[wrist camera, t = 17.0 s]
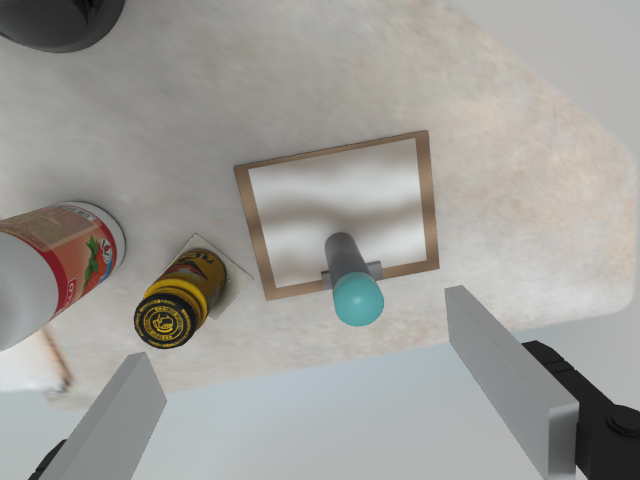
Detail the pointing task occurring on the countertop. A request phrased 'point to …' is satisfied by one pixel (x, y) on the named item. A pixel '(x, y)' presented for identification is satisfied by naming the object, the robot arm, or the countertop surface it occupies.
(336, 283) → the marker
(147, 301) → the condiment
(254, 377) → the countertop surface
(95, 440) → the robot arm
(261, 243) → the clipboard
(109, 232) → the fruit juice
